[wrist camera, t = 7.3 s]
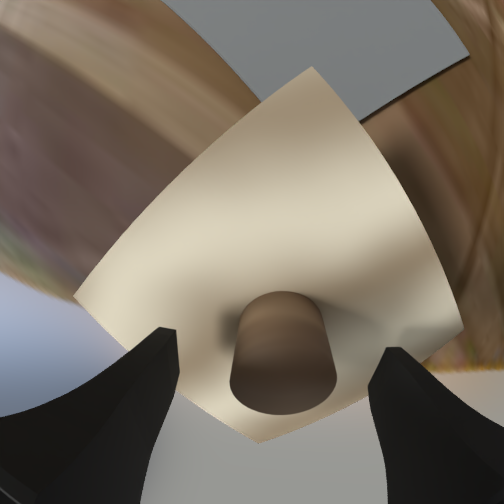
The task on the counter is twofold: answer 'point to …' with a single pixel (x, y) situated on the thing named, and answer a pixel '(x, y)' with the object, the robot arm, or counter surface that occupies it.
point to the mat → (328, 44)
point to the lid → (279, 267)
